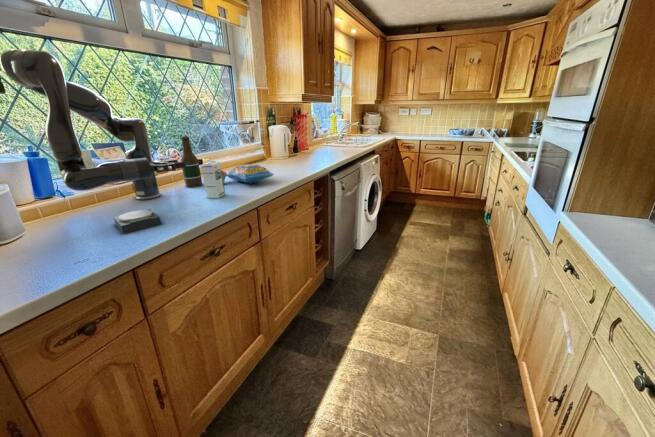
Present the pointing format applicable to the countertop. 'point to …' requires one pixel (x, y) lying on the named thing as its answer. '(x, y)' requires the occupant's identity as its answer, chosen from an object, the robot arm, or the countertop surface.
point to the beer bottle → (190, 165)
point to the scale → (136, 220)
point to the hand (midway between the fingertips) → (181, 163)
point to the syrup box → (213, 179)
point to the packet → (249, 173)
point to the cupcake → (223, 174)
